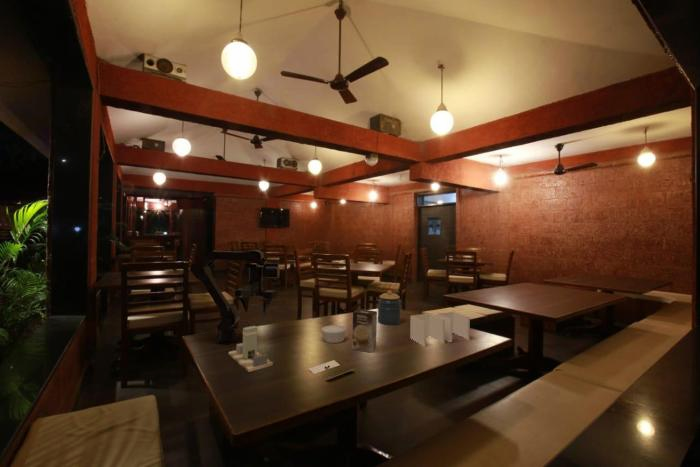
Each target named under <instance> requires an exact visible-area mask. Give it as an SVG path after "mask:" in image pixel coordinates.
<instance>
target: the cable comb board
mask: <svg viewBox="0 0 700 467" xmlns="http://www.w3.org/2000/svg"><path fill="white" fill-rule="evenodd" d="M251 351H252V350H251ZM261 355H262V354H261V353H260V352H258V351H257V356H261ZM228 356H230V357H231V358H232V359H233V360H235V361H236V362H237V363H238V365H240V366H241V367H242V368H244V369H245V370H246V371H248V373H250V372H253V371H258V370H261V369H264V368H267V367H271V366H273V364H274V362H273V361H272V360H270V359H268V358H267V364H264V365H260V366H257V367H253V358H252V357H251V356H250V355H248V359H245V358H244V357H243V354H239V353H237V352H236V350H235V349H234V350H231V351H228Z"/></svg>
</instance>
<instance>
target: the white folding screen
mask: <svg viewBox="0 0 700 467" xmlns="http://www.w3.org/2000/svg"><path fill="white" fill-rule="evenodd" d="M470 318H471V317H470V316H468V315H465V314H462V313H460V312H456V311H445V312H436V313H435V315H433V314H432V313H425V314H416V315H414V314H413V315H410V330H409V331H410V333H409V335H410V338H411V339H410V338H409V339H410V340H412V339H413V340H414V342H415V341H416V342H415V343H417V342H418V343H419V344H418V343H417V344H418V345H420V344H421V345H420V346H422V347H424V346H425V347H427V337H426V336H431V337H430V338H432V337H433V338H432V339H434V338H435V339H437V340H438V342H439V341H440V342H439V343H441V342H442V343H441V344H442V345H444V343H445V342H447V341H448V342H447V343H449V342H452V343H453V334H452V333H455V334H454V335H456V334H457V335H456V336H458V335H459V336H458V337H460V336H462V337H464V338H463V339H465V338H466V339H465V340H466V341H467V340H468V341H470V330H471V329H470V328H471V327H470V323H471V322H470V320H471V319H470ZM462 337H461V338H462ZM435 339H434V340H435ZM413 340H412V341H413ZM437 340H436V341H437ZM445 340H446V341H445Z"/></svg>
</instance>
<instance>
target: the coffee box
mask: <svg viewBox="0 0 700 467" xmlns="http://www.w3.org/2000/svg"><path fill="white" fill-rule="evenodd" d="M377 322H378V310H377V311H376V310H370V309H362V308H357V309H355V310H354V311H352V336H351V337H352V342H351V343H352V344H351V347H352V348H351V350H355V351H359V352H360V351H361V352H365V353H370V354H372V353H373V352H374V351H375V350H376V349H377V332H378V331H377V327H378V326H377V324H378V323H377Z"/></svg>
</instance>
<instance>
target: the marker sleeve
mask: <svg viewBox="0 0 700 467" xmlns="http://www.w3.org/2000/svg"><path fill="white" fill-rule="evenodd" d="M242 343H243V357H244V358H245V359H248V351H251V350H252V351H251V353H253V354H254V355H256V356H257V352H258V327H257V326H255V325H252V326H246V327H243V328H242Z"/></svg>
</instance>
